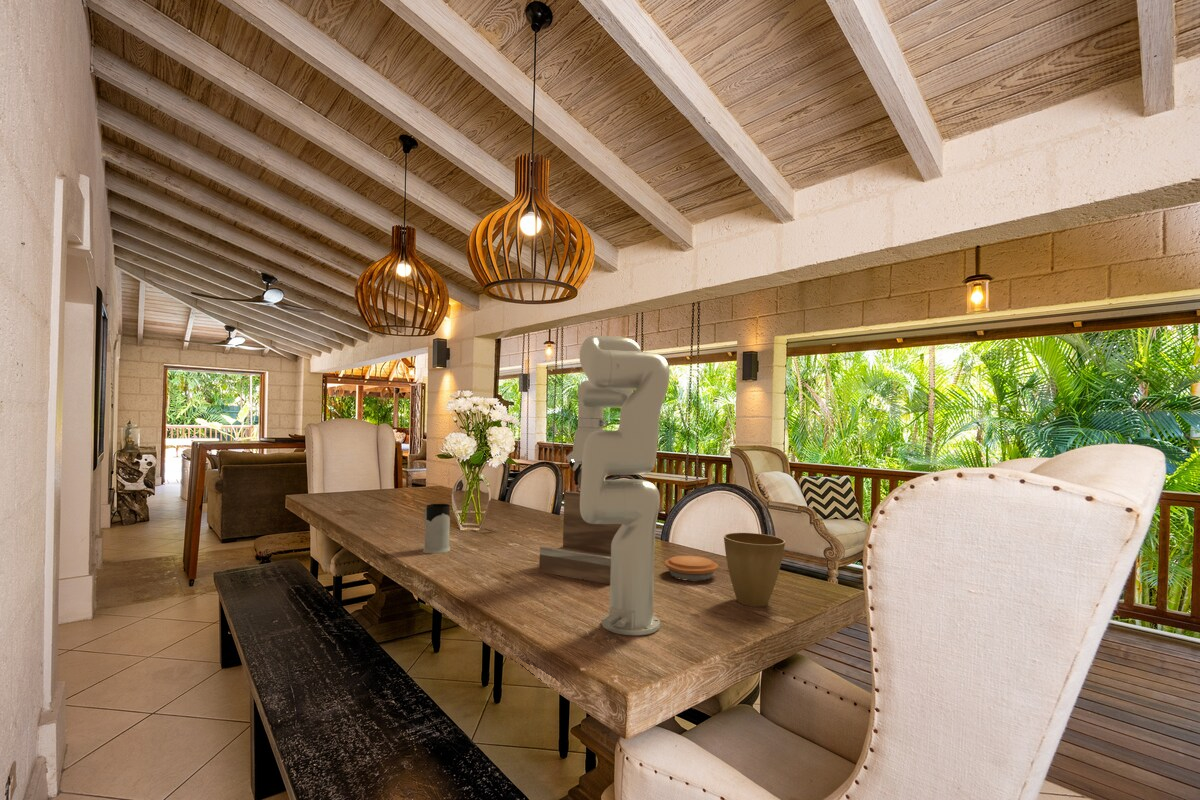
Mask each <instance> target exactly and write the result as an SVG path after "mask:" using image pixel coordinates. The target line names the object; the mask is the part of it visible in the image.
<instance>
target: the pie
mask: <svg viewBox="0 0 1200 800" xmlns="http://www.w3.org/2000/svg"><path fill="white" fill-rule="evenodd" d="M664 565H665V567H666V568H667V569H668V572H669V573H670V576H672V577H673V576H674V577H676V578H675V579H677V578H680V579H679V580H681V579H687V580H705V581H707V580H706V579H708V580H710V579H711V578H712V576H713V575H714V573H715V572H716V570H717V569H718V568H719V564H718V563H716V562H714V561H713V560H712V559H709V558H707V557H702V556H697V555H675V556H672V557H670V558H668V559H666V560H665V561H664ZM674 577H673V578H674ZM709 578H710V579H709Z"/></svg>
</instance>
